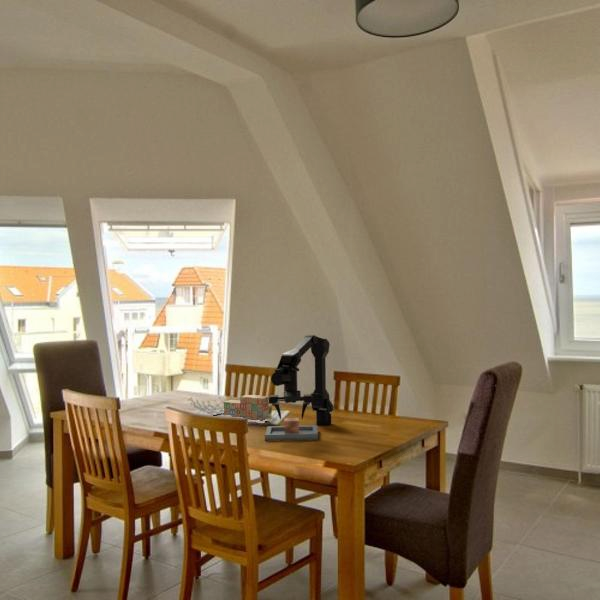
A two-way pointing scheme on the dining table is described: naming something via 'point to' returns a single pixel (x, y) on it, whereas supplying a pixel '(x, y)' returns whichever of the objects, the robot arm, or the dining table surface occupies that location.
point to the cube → (291, 425)
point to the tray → (280, 434)
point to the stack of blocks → (248, 407)
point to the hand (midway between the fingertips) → (291, 419)
